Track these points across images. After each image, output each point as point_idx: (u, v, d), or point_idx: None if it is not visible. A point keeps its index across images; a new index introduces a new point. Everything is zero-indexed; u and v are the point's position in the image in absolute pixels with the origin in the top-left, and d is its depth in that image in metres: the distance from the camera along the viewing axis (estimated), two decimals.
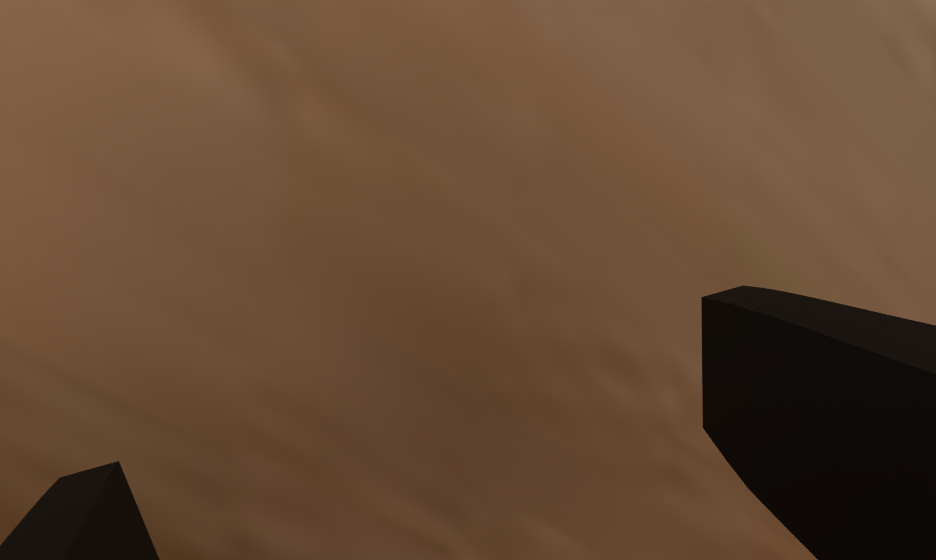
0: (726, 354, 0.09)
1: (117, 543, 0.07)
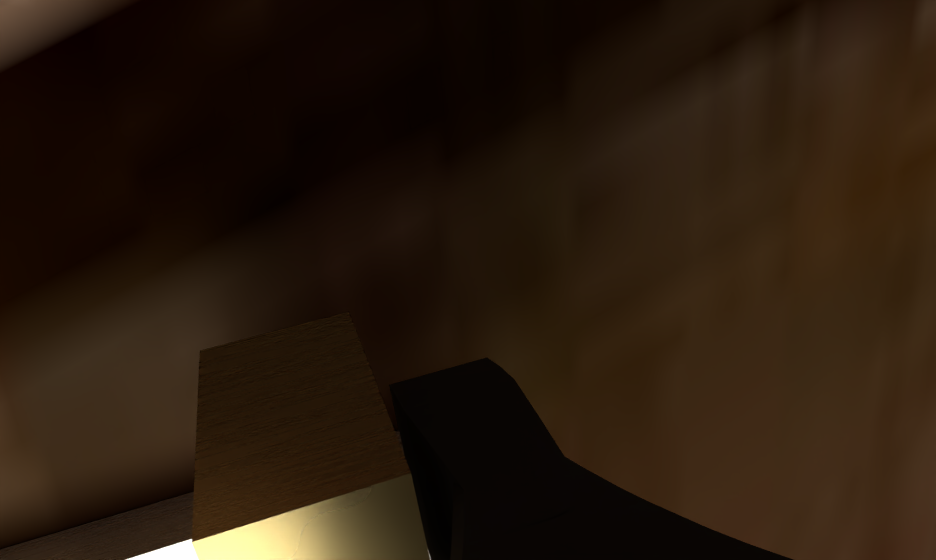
0: (407, 449, 0.08)
1: None
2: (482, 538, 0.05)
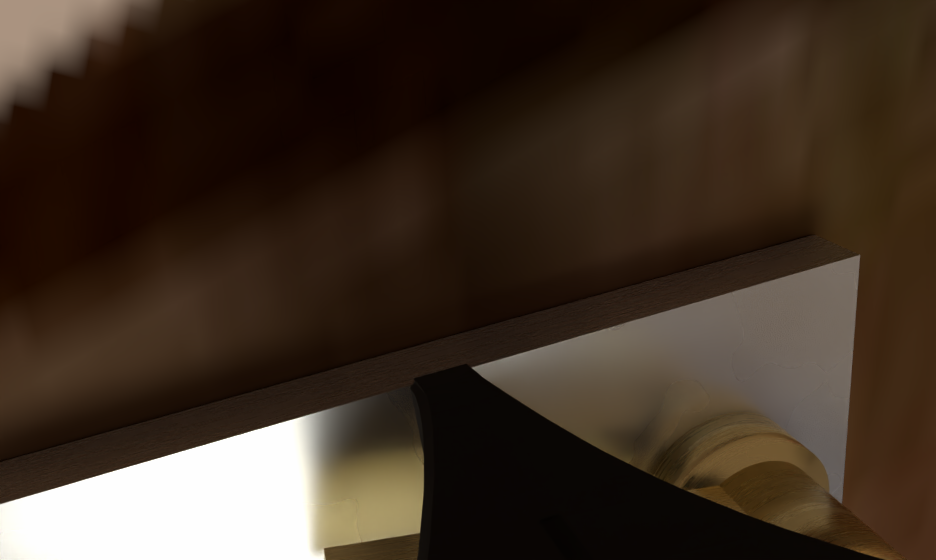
0: None
1: None
2: (447, 550, 0.05)
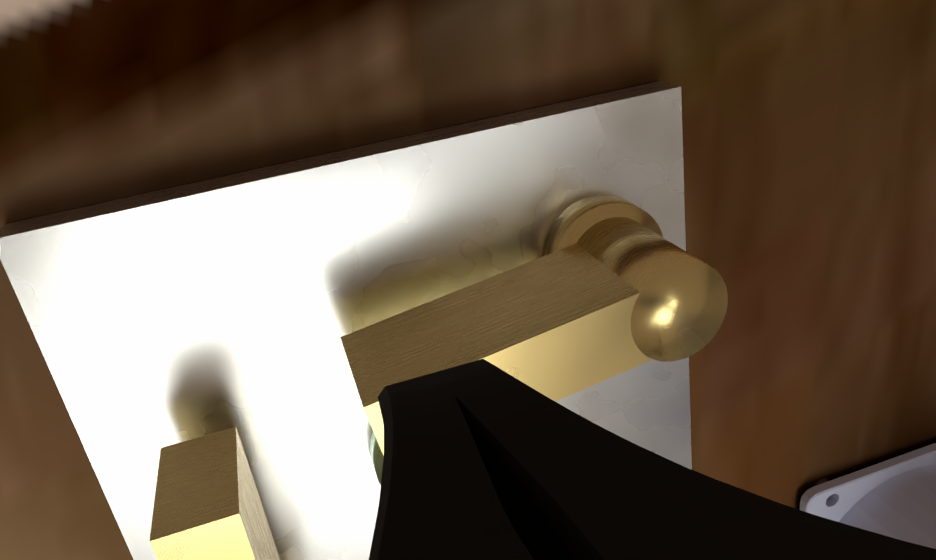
0: None
1: None
2: None
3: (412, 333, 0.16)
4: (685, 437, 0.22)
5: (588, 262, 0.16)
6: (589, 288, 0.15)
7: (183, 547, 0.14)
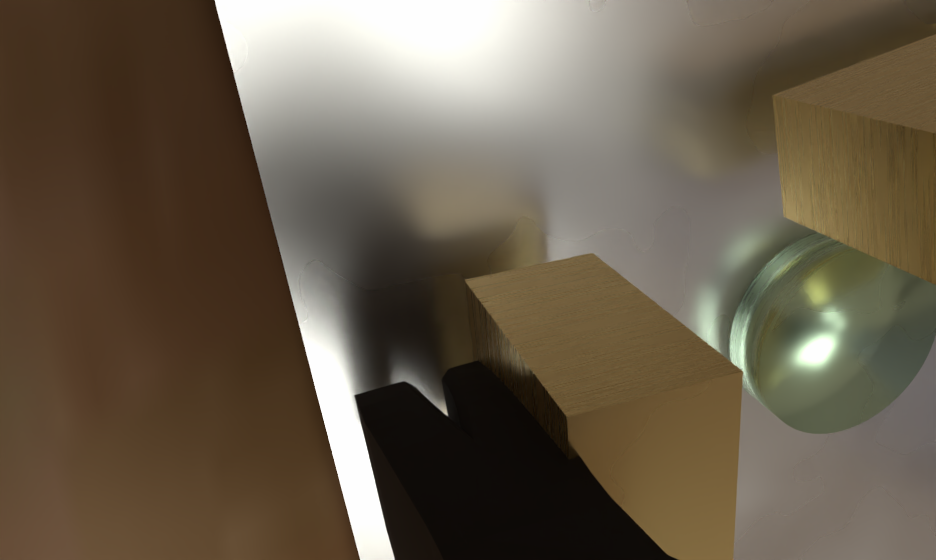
0: (371, 460, 0.08)
1: None
2: (497, 533, 0.05)
3: None
4: None
5: None
6: None
7: (623, 439, 0.06)
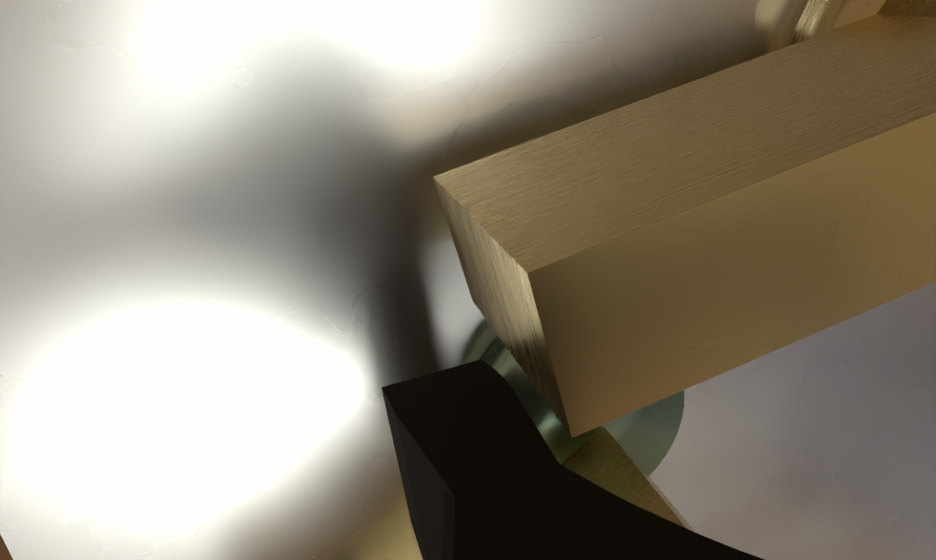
0: (399, 452, 0.08)
1: None
2: (472, 541, 0.05)
3: (590, 153, 0.08)
4: None
5: None
6: None
7: None
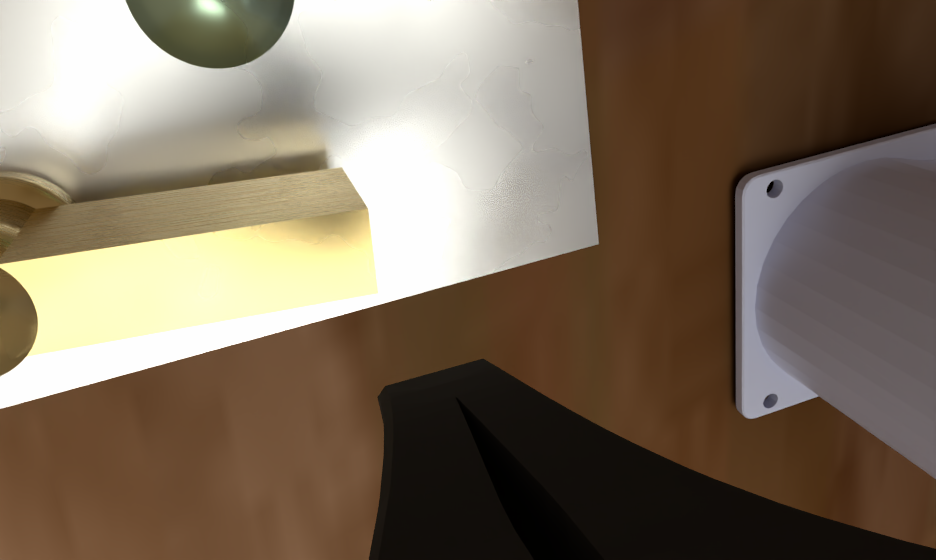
0: None
1: None
2: None
3: None
4: (574, 46, 0.17)
5: None
6: None
7: (351, 238, 0.13)
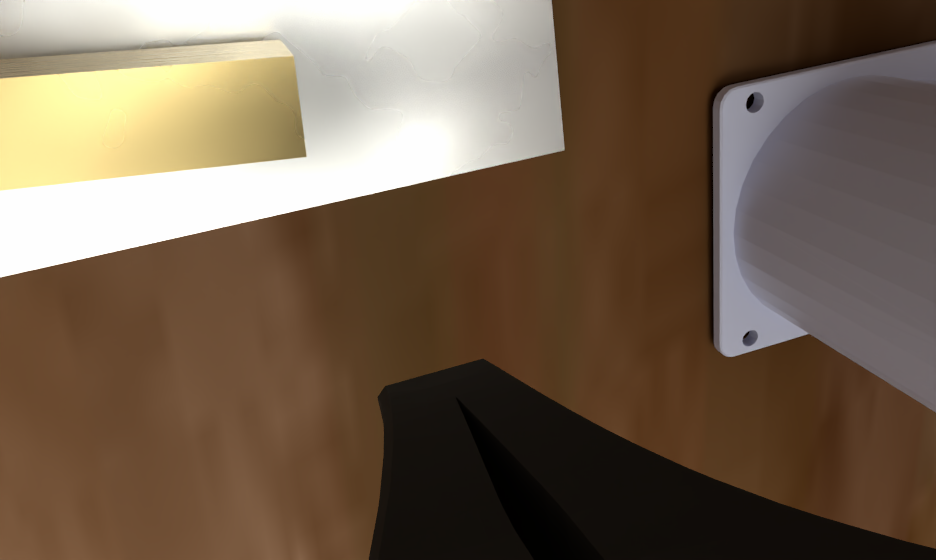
0: None
1: None
2: None
3: None
4: None
5: None
6: None
7: (274, 89, 0.12)
